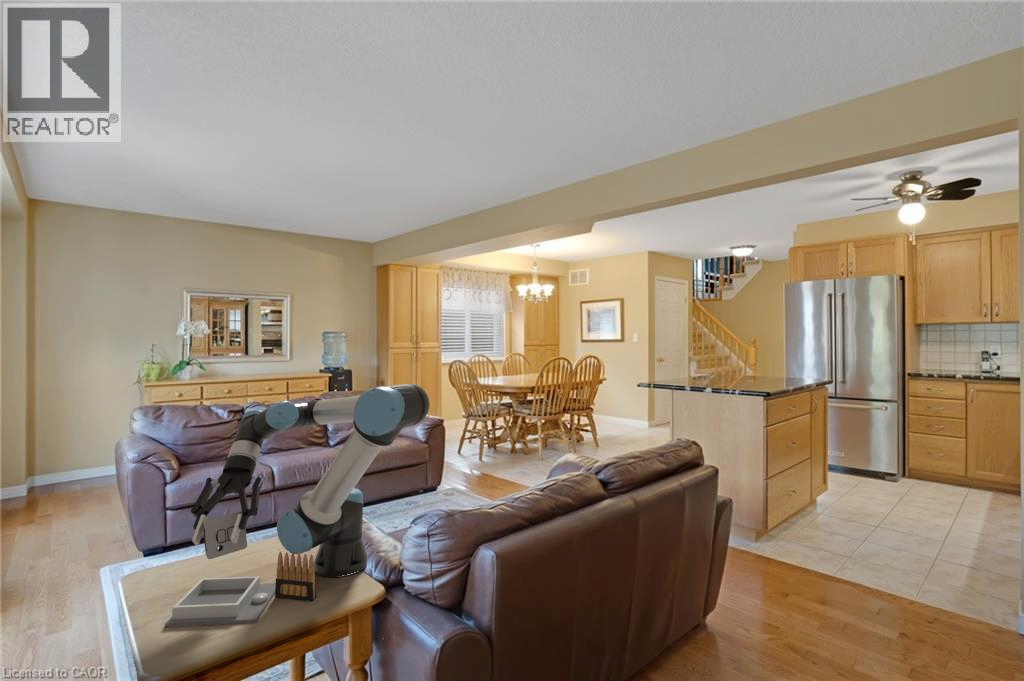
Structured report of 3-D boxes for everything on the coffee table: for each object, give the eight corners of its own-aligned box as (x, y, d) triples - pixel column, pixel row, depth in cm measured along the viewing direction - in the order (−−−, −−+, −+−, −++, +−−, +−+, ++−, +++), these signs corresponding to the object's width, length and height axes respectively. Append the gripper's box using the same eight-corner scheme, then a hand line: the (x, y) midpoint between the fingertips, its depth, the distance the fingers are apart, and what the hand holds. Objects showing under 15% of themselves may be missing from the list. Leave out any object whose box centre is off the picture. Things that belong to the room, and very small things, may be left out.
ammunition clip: (316, 598, 131) (316, 553, 131) (312, 602, 129) (313, 556, 129) (279, 594, 133) (279, 549, 132) (274, 597, 131) (274, 552, 130)
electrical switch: (208, 561, 122) (207, 522, 122) (199, 557, 125) (199, 519, 125) (248, 549, 129) (247, 512, 130) (238, 545, 132) (238, 509, 133)
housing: (280, 585, 137) (280, 572, 137) (256, 622, 119) (256, 607, 119) (201, 589, 134) (201, 575, 134) (164, 627, 117) (165, 611, 117)
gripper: (284, 467, 143) (262, 547, 127) (205, 468, 140) (173, 549, 125) (278, 453, 138) (255, 534, 122) (197, 453, 135) (162, 536, 119)
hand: (214, 541), depth 123 cm, fingers closed on electrical switch, 8 cm apart
